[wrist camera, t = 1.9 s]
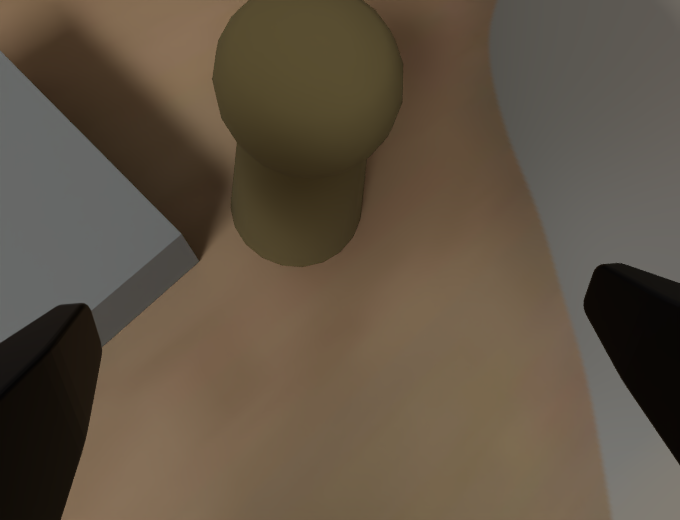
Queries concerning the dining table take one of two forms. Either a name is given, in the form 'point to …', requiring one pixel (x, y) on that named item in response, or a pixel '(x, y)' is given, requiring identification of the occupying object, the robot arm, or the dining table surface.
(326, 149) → the cork
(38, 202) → the podium
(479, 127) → the dining table surface
